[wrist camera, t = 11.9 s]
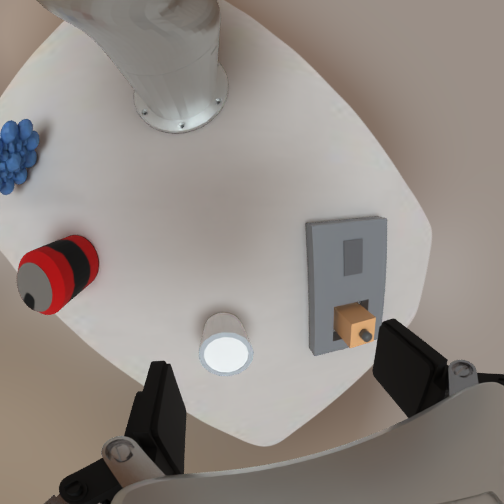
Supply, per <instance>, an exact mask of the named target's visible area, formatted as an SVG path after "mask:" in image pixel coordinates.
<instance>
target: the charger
mask: <svg viewBox="0 0 504 504" xmlns="http://www.w3.org/2000/svg"><path fill="white" fill-rule="evenodd" d="M375 322H376V317H375V316H374V315H372V314H371V313H370V312H369V311H367V310H366V309H365V308H364V307H362V306H361V305H360V304H359V303H358V302H354V303H350V304H345V305H340V306H336V307H334V324H333V329H334V330H335V331H336V332H337V333H338V335H339V336H340V337H341V338H342V339H343V341H344V342H345V343H346V344H347V345H348V346H349V348H353V347H356V346H359V345H362V344H366V343H369V342H372V341H374V332H375Z"/></svg>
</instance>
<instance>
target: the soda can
mask: <svg viewBox="0 0 504 504" xmlns="http://www.w3.org/2000/svg"><path fill="white" fill-rule="evenodd" d="M98 267H99V264H98V256H97V253H96V251H95V249H94V247H93V246H92V244H91V243H90V242H89V241H88V240H87V239H85V238H83V237H81V236H78V235H72V236H68V237H66V238H63V239H60V240H58V241H55V242H53V243H50V244H47V245H45V246H42V247H40V248H37V249H35V250H33V251H30V252H28V253H26V254H25V255H24V256H23V258H22V259H21V261H20V264H19V268H18V273H17V286H18V291H19V293H20V296H21V298H22V300H23V301H24V302H25V303H26V305H27V306H28V307H29V308H31V309H32V310H34V311H37V312H40V313H42V314H45V315H51V314H55V313H56V312H58V311H59V310H60V309H61V308H62V307H64V306H65V305H66V304H67V303H68V302H69V301H70V300H71V299H73V298H74V297H75V296H76V295H77V294H78V293H80V292H81V291H82V290H83V289H84V288H85V287H87V286H88V285H89V284H90V283H91V282H92V281H93V280H94V279H95V277H96V275H97V272H98Z"/></svg>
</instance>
